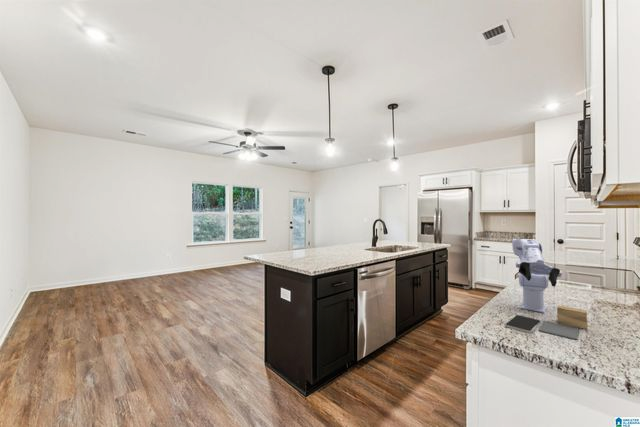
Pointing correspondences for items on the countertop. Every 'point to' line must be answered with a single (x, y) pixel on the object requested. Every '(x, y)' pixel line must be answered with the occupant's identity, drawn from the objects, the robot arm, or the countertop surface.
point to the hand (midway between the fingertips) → (541, 281)
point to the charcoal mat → (559, 329)
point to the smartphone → (523, 323)
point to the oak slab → (572, 316)
